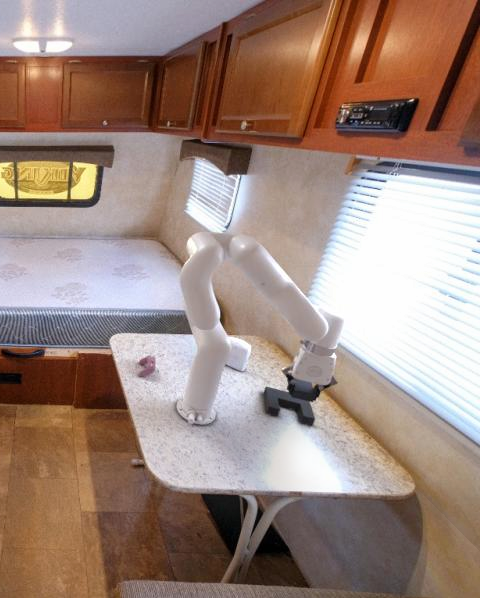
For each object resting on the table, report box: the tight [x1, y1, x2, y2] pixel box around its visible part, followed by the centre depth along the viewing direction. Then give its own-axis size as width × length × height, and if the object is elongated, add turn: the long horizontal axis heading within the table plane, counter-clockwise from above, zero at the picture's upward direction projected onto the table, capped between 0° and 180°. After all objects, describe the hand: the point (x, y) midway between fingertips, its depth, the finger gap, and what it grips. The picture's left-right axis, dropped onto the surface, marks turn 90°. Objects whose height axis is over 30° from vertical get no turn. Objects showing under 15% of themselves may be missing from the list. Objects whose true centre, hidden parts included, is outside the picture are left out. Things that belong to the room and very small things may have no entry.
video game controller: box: [138, 354, 157, 377], centre depth 140 cm, size 10×5×7 cm, turn 171°
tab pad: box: [286, 372, 316, 403], centre depth 117 cm, size 10×6×3 cm, turn 160°
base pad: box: [263, 386, 316, 427], centre depth 126 cm, size 12×14×3 cm
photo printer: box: [225, 336, 252, 372], centre depth 147 cm, size 10×4×12 cm, turn 47°
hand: (301, 394), depth 115 cm, fingers closed on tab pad, 6 cm apart
